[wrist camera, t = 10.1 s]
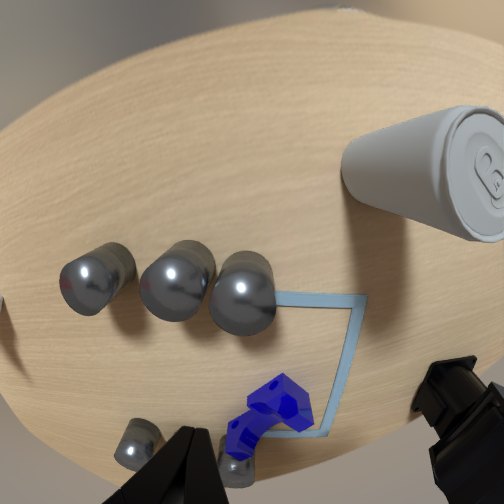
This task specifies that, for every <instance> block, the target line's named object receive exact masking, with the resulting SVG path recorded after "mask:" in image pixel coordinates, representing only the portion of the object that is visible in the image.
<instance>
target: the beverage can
mask: <svg viewBox="0 0 504 504" xmlns="http://www.w3.org/2000/svg"><path fill="white" fill-rule="evenodd" d="M341 172H342V176H343V180H344V183H345V185H346V187H347V189H348V191H349V192H350V193H351V195H352V196H353V197H354V198H355V199H357V200H358V201H359V202H361V203H364V204H367V205H369V206H373V207H376V208H379V209H382V210H385V211H388V212H391V213H394V214H397V215H400V216H403V217H406V218H409V219H412V220H415V221H418V222H420V223H423V224H426V225H429V226H431V227H434V228H437V229H439V230H442V231H445V232H447V233H450V234H453V235H455V236H458V237H460V238H463V239H465V240H468V241H479V242H485V243H495V242H497V241H500V240H502V239H504V116H502V115H501V114H500V113H499V112H498V111H496V110H494V109H491V108H489V107H486V106H473V105H460V106H456V107H452V108H448V109H445V110H441V111H438V112H434V113H431V114H427V115H424V116H421V117H418V118H414V119H411V120H408V121H405V122H402V123H399V124H396V125H393V126H389V127H386V128H383V129H380V130H377V131H375V132H372V133H369V134H366V135H363V136H360V137H358V138H356V139H354V140H353V141H352V142H351V143H350V144H349V145H348V146H347V148H346V149H345V151H344V153H343V157H342V161H341Z"/></svg>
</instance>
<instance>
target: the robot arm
mask: <svg viewBox="0 0 504 504" xmlns="http://www.w3.org/2000/svg"><path fill="white" fill-rule="evenodd" d="M476 361H477V357H476V356H475V355H473V356H468V357H462V358H456V359H449V360H443V361H436V362H434V363H433V364H432V365H431V366H430V369H429V371H428V373H427V376H426V378H425V380H424V383H423V385H422V387H421V389H420V391H419V393H418V396H417V398H416V400H415V402H414V404H413V406H412V408H411V409H412V411H413V412H419V411H422V413H423V415H424V417H425V418H426V420H427V422H428V423H429V425H430V427H434V429H435V430H436V432H437V434H438V436H439V438H440V440H439V441H438V442H437V443H436V444H435V445H433V446H432V447H430V448H429V454H430V459H431V464H432V470H433V475H434V480H435V484H436V485H437V486H438V487H439V488H440V490H441V491H442V492H443V493H444V494H445V496H446V498H447V500H448V502H449V504H504V387H503V386H500V385H498V384H496V383H494V382H491V383H490V384H489V385H488V388H487V387H486V386H485V385H484V384H483V382H482V381H481V380H480V379H479V378H478V377H477V375H476V374H475V373H474V372H473V371H472V370H473V368H474V365H475V363H476ZM102 504H229V502H228V498H227V495H226V492H225V489H224V485H223V482H222V479H221V475H220V472H219V468H218V465H217V461H216V458H215V454H214V450H213V446H212V443H211V439H210V435H209V431H208V429H205V428H196V429H195V428H194V427H190V426H182V427H181V428H180V429H179V430H178V431H177V432H176V433H175V434H174V435H173V436H172V437H171V438H170V439H169V440H168V441H167V442H166V443H165V444H164V446H163V447H162V448H161V449H160V450H159V451H158V452H157V453H156V454H155V455H154V456H153V457H152V458H151V459H150V460H149V461H148V462H147V463H146V464H145V465H144V466H142V467H141V468H140V469H139V470H138V471H137V472H136V473H135V474H134V475H133V476H132V477H131V478H130V479H129V480H128V481H127V482H126V483H125V484H124V485H123V486H122V487H121V489H118V490H117V491H116V492H115V493H114V494H113V495H112V496H110V497H109V498H108V499H107V500H106V501H104V502H103V503H102Z"/></svg>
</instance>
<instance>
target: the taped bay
mask: <svg viewBox="0 0 504 504" xmlns="http://www.w3.org/2000/svg"><path fill="white" fill-rule="evenodd" d="M367 297H368V295H356V294H326V293H303V292H283V291H275V298H276V305H283V306H305V307H336V308H352V311H351V316H350V320H349V325H348V330H347V334H346V338H345V342H344V347H343V351H342V355H341V359H340V362H339V366H338V370H337V374H336V377H335V381H334V385H333V388H332V391H331V395H330V398H329V402H328V405H327V408H326V411H325V414H324V418H323V421H322V424H321V427H320V430H303V431H302V432H300V433H299V432H297V431H295V430H267V431H266V432H265V433H264V434H263V435H262V436H261V437H270V438H302V437H326V436H328V433H329V430H330V428H331V425H332V422H333V419H334V416H335V414H336V411H337V408H338V405H339V402H340V399H341V396H342V393H343V389H344V386H345V383H346V380H347V377H348V373H349V370H350V366H351V363H352V359H353V356H354V352H355V348H356V344H357V341H358V337H359V333H360V328H361V324H362V320H363V316H364V311H365V307H366V302H367Z"/></svg>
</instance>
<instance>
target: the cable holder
mask: <svg viewBox="0 0 504 504" xmlns="http://www.w3.org/2000/svg"><path fill="white" fill-rule="evenodd" d="M247 407H249V408H250V409H251V410H249V411H248V412H246V413H244V414H242V415H241V416H239V417H237V418H236V419H234V420H232V421H230V422H228V430H227V438H226V446H225V453H227V454H228V455H230V456H232V457H234V458H236V459H238V460H240V461H243V460H245V459H248V458H250V457H252V456H253V455H254V449H255V446H256V444H257V442H258V441H259V439H260V438H261V436H262V435H263V434H264V433H265V432H266V431H267V430H268V429H269V428H270V427H272V426H273V425H275V424H277V423H280V422H283V423H284V424H286V425H288V426H289V427H291V428H292V429H294V430H295V431H297V432H299V433H300V432H302V431H303V430H305V429H307V428H309V427H310V426H312V425H314V420H313V415H312V410H311V404H310V399H309V394H308V393H307V392H306V391H305V390H304V389H302V388H301V387H300V386H298V385H297V384H296V383H295V382H293V381H292V380H291V379H290V378H289V377H287V376H286V375H285V374H284V373H281V374H280V375H278V376H277V377H275V378H274V379H273V380H271V381H270V382H268V383H267V384H265V385H264V386H262V387H261V388H259V389H258V390H256V391H254V392H253V393H251V394H250V395H248V396H247Z"/></svg>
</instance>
